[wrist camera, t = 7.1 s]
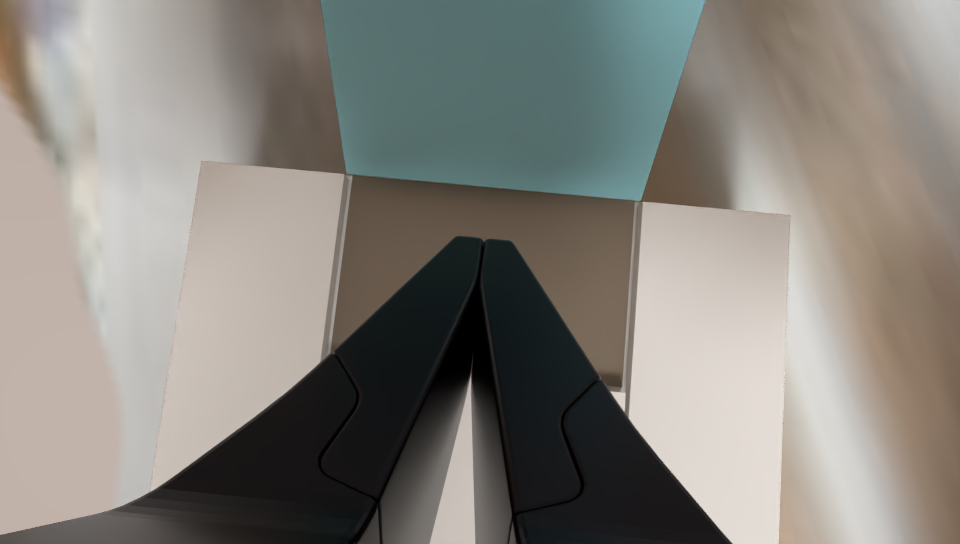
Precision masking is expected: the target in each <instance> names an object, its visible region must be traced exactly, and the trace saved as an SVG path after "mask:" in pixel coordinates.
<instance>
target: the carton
mask: <svg viewBox="0 0 960 544" xmlns="http://www.w3.org/2000/svg"><path fill="white" fill-rule="evenodd" d="M456 236H468V237H479V238H481V239H482V240H483V241H484V242H485V240H486V239H500V240H510V241H512V242H513V243H514V244H515V246H516V247H517V249H518V251H519V252H520V254H521V255H522V257H523V258H524V260H525V261H526V263H527V264H528V266H529V267H530V269H531V270H532V272H533V274H534V275H535V277H536V278H537V280H538V281H539V283H540V284H541V286H542V287H543V289H544V290H545V292H546V294H547V295H548V297H549V298H550V300H551V301H552V303H553V304H554V306H555V307H556V309H557V310H558V312H559V314H560V315H561V317H562V318H563V320H564V321H565V323H566V324H567V326H568V327H569V329H570V330H571V332H572V333H573V335H574V337H575V338H576V340H577V341H578V343H579V344H580V346H581V347H582V349H583V350H584V352H585V353H586V355H587V357H588V358H589V360H590V361H591V363H592V364H593V366H594V367H595V369H596V370H597V372H598V373H599V375H600V377H601V380H603V381H604V382H605V384H606V385H607V387H608V389H609V390H610V392H611V393H612V395H613V396H614V398H615V399H616V401H617V402H618V404H619V405H620V406H621V408H622V409H623V411H624V412H625V414H626V415H627V416H628V418H629V419H630V421H631V422H632V424H633V425H634V426H635V428H636V429H637V430H638V431H639V433H640V434H641V435H642V436H643V438H644V439H645V440H646V441H647V443H648V444H649V445H650V446H651V448H652V449H653V450H654V451H655V453H656V454H657V455H658V456H659V458H660V459H661V460H662V461H663V462H664V464H665V465H666V466H667V467H668V468H669V470H670V471H671V472H672V473H673V474H674V475H675V477H676V478H677V479H678V480H679V481H680V483H681V484H682V485H683V486H684V487H685V489H686V490H687V491H688V492H689V493H690V494H691V496H692V497H693V498H694V499H695V500H696V502H697V503H698V504H699V505H700V506H701V507H702V509H703V510H704V511H705V512H706V513H707V515H708V516H709V517H710V518H711V519H712V520H713V522H714V523H715V524H716V525H717V526H718V528H719V529H720V530H721V531H722V532H723V533H724V535H725V536H726V537H727V538H728V539H729V540H730V541H731V542H732V543H733V544H778V542H779V515H780V487H781V460H782V433H783V405H784V378H785V350H786V323H787V296H788V268H789V241H790V215H783V214H772V213H762V212H751V211H740V210H729V209H718V208H707V207H696V206H686V205H675V204H664V203H653V202H642V203H639V202H635V201H629V200H618V199H607V198H596V197H585V196H574V195H563V194H553V193H542V192H531V191H520V190H509V189H498V188H487V187H477V186H466V185H455V184H444V183H433V182H422V181H411V180H401V179H390V178H379V177H368V176H357V175H353V176H346V175H345V174H338V173H327V172H316V171H305V170H295V169H284V168H273V167H262V166H251V165H240V164H229V163H218V162H208V161H201V167H200V174H199V180H198V186H197V193H196V199H195V205H194V212H193V218H192V225H191V231H190V237H189V244H188V250H187V256H186V263H185V269H184V275H183V282H182V288H181V295H180V301H179V307H178V314H177V320H176V326H175V333H174V339H173V345H172V352H171V358H170V365H169V371H168V377H167V384H166V390H165V396H164V403H163V409H162V416H161V422H160V428H159V435H158V441H157V447H156V454H155V460H154V466H153V473H152V479H151V486H150V492H151V491H152V490H154V489H156V488H157V487H159V486H160V485H162V484H163V483H165V482H166V481H168V480H169V479H171V478H172V477H173V476H175V475H176V474H178V473H179V472H180V471H182V470H183V469H184V468H186V467H187V466H188V465H190V464H191V463H192V462H194V461H195V460H197V459H198V458H199V457H201V456H202V455H203V454H205V453H206V452H207V451H209V450H210V449H211V448H213V447H214V446H216V445H217V444H218V443H220V442H221V441H222V440H224V439H225V438H226V437H228V436H229V435H230V434H232V433H233V432H235V431H236V430H237V429H239V428H240V427H241V426H243V425H244V424H245V423H247V422H248V421H249V420H251V419H252V418H254V417H255V416H256V415H257V414H259V413H260V412H261V411H263V410H264V409H265V408H266V407H268V406H269V405H270V404H272V403H273V402H274V401H275V400H277V399H278V398H279V397H281V396H282V395H283V394H284V393H286V392H287V391H288V390H289V389H290V388H292V387H293V386H294V385H295V384H296V383H297V382H298V381H300V380H301V379H302V378H303V377H304V376H305V375H306V374H308V373H309V372H310V371H311V370H312V369H313V368H314V367H316V366H317V365H318V364H319V363H320V362H321V361H322V360H323V359H324V358H325V357H326V356H327V355H328V354H330V353H333V350H334V349H335V348H336V347H337V346H338V345H339V344H341V343H342V342H343V341H344V340H345V339H346V338H347V337H348V336H349V335H350V334H351V333H352V332H353V331H354V330H356V329H357V328H358V327H359V326H360V325H361V324H362V323H363V322H364V321H365V320H366V319H367V318H368V317H370V316H371V315H372V314H373V313H374V312H375V311H376V310H377V309H378V308H379V307H380V306H381V305H382V304H383V303H385V302H386V301H387V300H388V299H389V298H390V297H391V296H392V295H393V294H394V293H395V292H396V291H397V290H398V289H400V288H401V287H402V286H403V285H404V284H405V283H406V282H407V281H408V280H409V279H410V278H411V277H412V276H413V275H415V274H416V273H417V272H418V271H419V270H420V269H421V268H422V267H423V266H424V265H425V264H426V263H427V262H429V261H430V260H431V259H432V258H433V257H434V256H435V255H436V254H437V253H438V252H439V251H440V250H441V249H442V248H444V247H445V246H446V245H447V244H448V243H449V242H450V241H451V240H452V239H453V238H454V237H456ZM472 361H473V360H472ZM471 375H472V368H471ZM471 375H470V382H469V387H468V391H467V396H466V400H465V404H464V408H463V412H462V416H461V420H460V424H459V428H458V432H457V436H456V440H455V444H454V448H453V452H452V456H451V460H450V464H449V468H448V472H447V476H446V480H445V484H444V488H443V492H442V496H441V500H440V504H439V508H438V512H437V516H436V520H435V524H434V528H433V532H432V536H431V540H430V544H475V515H474V481H473V448H472V415H471Z"/></svg>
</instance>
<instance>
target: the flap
mask: <svg viewBox="0 0 960 544" xmlns="http://www.w3.org/2000/svg"><path fill="white" fill-rule="evenodd" d="M320 3H321V9H322V16H323V23H324V29H325V36H326V42H327V49H328V55H329V62H330V69H331V75H332V82H333V88H334V95H335V102H336V108H337V115H338V121H339V128H340V135H341V141H342V148H343V154H344V161H345V168H346V174H353V175H363V176H374V177H385V178H396V179H407V180H418V181H429V182H440V183H450V184H461V185H472V186H483V187H494V188H505V189H516V190H526V191H537V192H548V193H559V194H570V195H581V196H592V197H602V198H613V199H624V200H635V201H641V198H642V195H643V192H644V189H645V186H646V183H647V180H648V177H649V173H650V170H651V167H652V164H653V161H654V158H655V155H656V152H657V149H658V146H659V143H660V139H661V136H662V133H663V130H664V127H665V124H666V121H667V118H668V115H669V112H670V109H671V105H672V102H673V99H674V96H675V93H676V90H677V87H678V84H679V81H680V78H681V75H682V72H683V68H684V65H685V62H686V59H687V56H688V53H689V50H690V47H691V44H692V41H693V38H694V34H695V31H696V28H697V25H698V22H699V19H700V16H701V13H702V10H703V7H704V4H705V0H320Z"/></svg>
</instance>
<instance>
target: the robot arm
mask: <svg viewBox="0 0 960 544" xmlns="http://www.w3.org/2000/svg"><path fill="white" fill-rule="evenodd" d="M472 360H473V361H472ZM471 368H472V375H471ZM470 375H471V415H472V448H473V481H474V515H475V544H733V543H732V542H731V541H730V540H729V539H728V538H727V537H726V536H725V535H724V533H723V532H722V531H721V530H720V529H719V528H718V526H717V525H716V524H715V523H714V522H713V520H712V519H711V518H710V517H709V516H708V515H707V513H706V512H705V511H704V510H703V509H702V507H701V506H700V505H699V504H698V503H697V502H696V500H695V499H694V498H693V497H692V496H691V494H690V493H689V492H688V491H687V490H686V489H685V487H684V486H683V485H682V484H681V483H680V481H679V480H678V479H677V478H676V477H675V475H674V474H673V473H672V472H671V471H670V470H669V468H668V467H667V466H666V465H665V464H664V462H663V461H662V460H661V459H660V458H659V456H658V455H657V454H656V453H655V451H654V450H653V449H652V448H651V446H650V445H649V444H648V443H647V441H646V440H645V439H644V438H643V436H642V435H641V434H640V433H639V431H638V430H637V429H636V428H635V426H634V425H633V424H632V422H631V421H630V419H629V418H628V416H627V415H626V414H625V412H624V411H623V409H622V408H621V406H620V405H619V404H618V402H617V401H616V399H615V398H614V396H613V395H612V393H611V392H610V390H609V389H608V387H607V385H606V384H605V382H604V381H603V380H601V377H600V375H599V373H598V372H597V370H596V369H595V367H594V366H593V364H592V363H591V361H590V360H589V358H588V357H587V355H586V353H585V352H584V350H583V349H582V347H581V346H580V344H579V343H578V341H577V340H576V338H575V337H574V335H573V333H572V332H571V330H570V329H569V327H568V326H567V324H566V323H565V321H564V320H563V318H562V317H561V315H560V314H559V312H558V310H557V309H556V307H555V306H554V304H553V303H552V301H551V300H550V298H549V297H548V295H547V294H546V292H545V290H544V289H543V287H542V286H541V284H540V283H539V281H538V280H537V278H536V277H535V275H534V274H533V272H532V270H531V269H530V267H529V266H528V264H527V263H526V261H525V260H524V258H523V257H522V255H521V254H520V252H519V251H518V249H517V247H516V246H515V244H514V243H513V242H512V241H510V240H500V239H486V240H485V242H484V241H483V240H482V239H481V238H479V237H468V236H456V237H454V238H453V239H452V240H451V241H450V242H449V243H448V244H447V245H446V246H445V247H444V248H442V249H441V250H440V251H439V252H438V253H437V254H436V255H435V256H434V257H433V258H432V259H431V260H430V261H429V262H427V263H426V264H425V265H424V266H423V267H422V268H421V269H420V270H419V271H418V272H417V273H416V274H415V275H413V276H412V277H411V278H410V279H409V280H408V281H407V282H406V283H405V284H404V285H403V286H402V287H401V288H400V289H398V290H397V291H396V292H395V293H394V294H393V295H392V296H391V297H390V298H389V299H388V300H387V301H386V302H385V303H383V304H382V305H381V306H380V307H379V308H378V309H377V310H376V311H375V312H374V313H373V314H372V315H371V316H370V317H368V318H367V319H366V320H365V321H364V322H363V323H362V324H361V325H360V326H359V327H358V328H357V329H356V330H354V331H353V332H352V333H351V334H350V335H349V336H348V337H347V338H346V339H345V340H344V341H343V342H342V343H341V344H339V345H338V346H337V347H336V348H335V349H334V350H333V353H330V354H328V355H327V356H326V357H325V358H324V359H323V360H322V361H321V362H320V363H319V364H318V365H317V366H316V367H314V368H313V369H312V370H311V371H310V372H309V373H308V374H306V375H305V376H304V377H303V378H302V379H301V380H300V381H298V382H297V383H296V384H295V385H294V386H293V387H292V388H290V389H289V390H288V391H287V392H286V393H284V394H283V395H282V396H281V397H279V398H278V399H277V400H275V401H274V402H273V403H272V404H270V405H269V406H268V407H266V408H265V409H264V410H263V411H261V412H260V413H259V414H257V415H256V416H255V417H254V418H252V419H251V420H249V421H248V422H247V423H245V424H244V425H243V426H241V427H240V428H239V429H237V430H236V431H235V432H233V433H232V434H230V435H229V436H228V437H226V438H225V439H224V440H222V441H221V442H220V443H218V444H217V445H216V446H214V447H213V448H211V449H210V450H209V451H207V452H206V453H205V454H203V455H202V456H201V457H199V458H198V459H197V460H195V461H194V462H192V463H191V464H190V465H188V466H187V467H186V468H184V469H183V470H182V471H180V472H179V473H178V474H176V475H175V476H173V477H172V478H171V479H169V480H168V481H166V482H165V483H163V484H162V485H160V486H159V487H157V488H156V489H154V490H152V491H151V492H149V493H147V494H145V495H144V496H142V497H140V498H138V499H136V500H134V501H132V502H130V503H128V504H126V505H123V506H121V507H118V508H115V509H112V510H109V511H106V512H102V513H99V514H94V515H90V516H86V517H81V518H76V519H72V520H67V521H62V522H58V523H53V524H49V525H44V526H40V527H35V528H31V529H26V530H21V531H17V532H12V533H8V534H3V535H0V544H430V540H431V536H432V532H433V528H434V524H435V520H436V516H437V512H438V508H439V504H440V500H441V496H442V492H443V488H444V484H445V480H446V476H447V472H448V468H449V464H450V460H451V456H452V452H453V448H454V444H455V440H456V436H457V432H458V428H459V424H460V420H461V416H462V412H463V408H464V404H465V400H466V396H467V391H468V387H469V382H470Z"/></svg>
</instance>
